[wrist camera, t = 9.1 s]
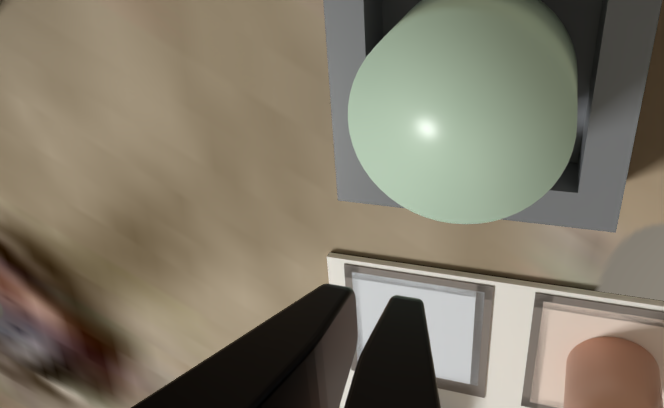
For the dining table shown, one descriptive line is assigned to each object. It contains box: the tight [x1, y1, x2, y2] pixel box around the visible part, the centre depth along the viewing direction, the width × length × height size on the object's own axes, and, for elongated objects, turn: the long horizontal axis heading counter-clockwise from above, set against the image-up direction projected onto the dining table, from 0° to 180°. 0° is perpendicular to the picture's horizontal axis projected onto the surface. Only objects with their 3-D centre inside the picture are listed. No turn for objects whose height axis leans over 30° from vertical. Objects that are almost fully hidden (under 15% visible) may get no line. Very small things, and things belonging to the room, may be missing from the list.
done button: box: [348, 0, 578, 224], centre depth 15 cm, size 5×5×3 cm
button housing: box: [323, 0, 662, 233], centre depth 17 cm, size 8×8×3 cm
